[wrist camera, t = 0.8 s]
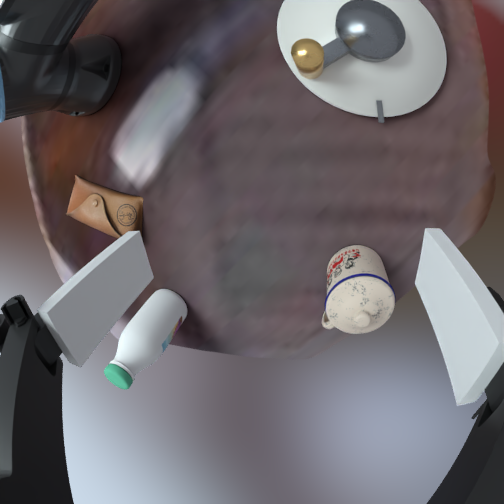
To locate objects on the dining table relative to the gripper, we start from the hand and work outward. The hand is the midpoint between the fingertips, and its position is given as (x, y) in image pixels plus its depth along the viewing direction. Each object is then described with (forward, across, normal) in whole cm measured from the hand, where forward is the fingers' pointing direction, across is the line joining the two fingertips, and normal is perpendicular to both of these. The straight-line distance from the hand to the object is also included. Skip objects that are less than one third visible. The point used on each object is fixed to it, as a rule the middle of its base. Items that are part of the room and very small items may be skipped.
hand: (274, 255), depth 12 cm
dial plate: (+26, +10, +17) cm, 32 cm away
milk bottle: (+26, -25, -25) cm, 44 cm away
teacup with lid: (+25, +7, -17) cm, 31 cm away
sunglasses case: (+27, -35, -4) cm, 44 cm away
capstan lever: (+24, +7, +15) cm, 29 cm away
